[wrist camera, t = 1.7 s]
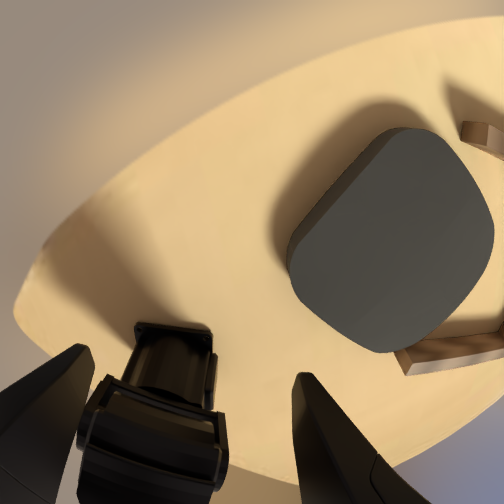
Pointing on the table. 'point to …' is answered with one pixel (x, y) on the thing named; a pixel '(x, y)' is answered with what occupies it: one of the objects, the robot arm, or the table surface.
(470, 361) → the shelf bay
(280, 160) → the table surface
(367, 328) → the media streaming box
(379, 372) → the table surface
